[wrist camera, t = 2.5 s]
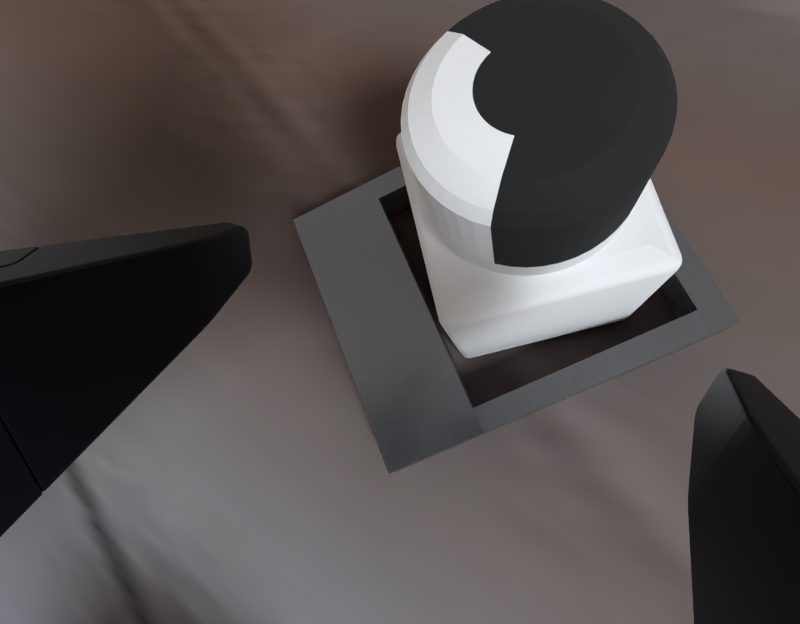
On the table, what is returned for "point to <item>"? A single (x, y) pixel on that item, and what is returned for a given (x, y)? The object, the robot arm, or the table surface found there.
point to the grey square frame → (423, 341)
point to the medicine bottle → (539, 170)
